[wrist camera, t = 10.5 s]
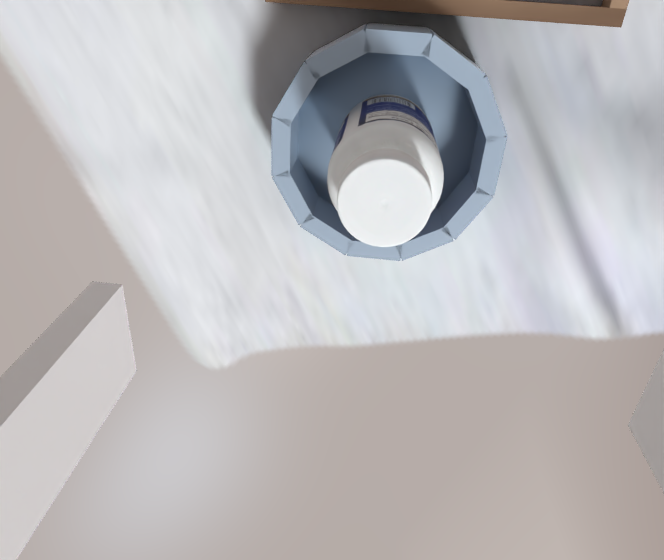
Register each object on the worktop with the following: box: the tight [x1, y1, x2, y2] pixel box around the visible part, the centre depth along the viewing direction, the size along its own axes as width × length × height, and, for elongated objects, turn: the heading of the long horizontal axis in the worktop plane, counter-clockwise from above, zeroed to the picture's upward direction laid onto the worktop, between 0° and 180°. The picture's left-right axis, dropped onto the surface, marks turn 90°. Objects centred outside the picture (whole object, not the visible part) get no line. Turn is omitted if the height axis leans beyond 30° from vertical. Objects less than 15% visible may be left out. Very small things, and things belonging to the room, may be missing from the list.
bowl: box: [272, 23, 507, 261], centre depth 29 cm, size 12×12×4 cm
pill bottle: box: [327, 94, 444, 247], centre depth 26 cm, size 5×5×10 cm
